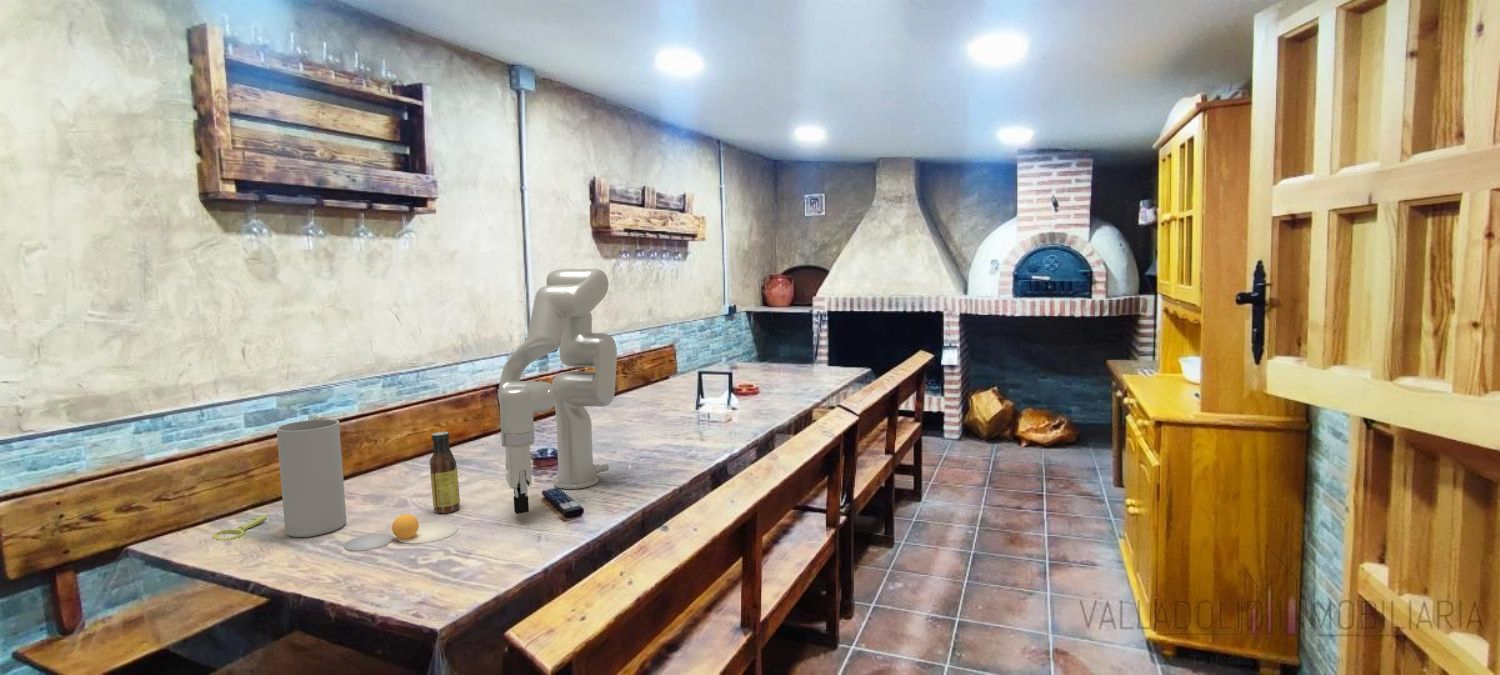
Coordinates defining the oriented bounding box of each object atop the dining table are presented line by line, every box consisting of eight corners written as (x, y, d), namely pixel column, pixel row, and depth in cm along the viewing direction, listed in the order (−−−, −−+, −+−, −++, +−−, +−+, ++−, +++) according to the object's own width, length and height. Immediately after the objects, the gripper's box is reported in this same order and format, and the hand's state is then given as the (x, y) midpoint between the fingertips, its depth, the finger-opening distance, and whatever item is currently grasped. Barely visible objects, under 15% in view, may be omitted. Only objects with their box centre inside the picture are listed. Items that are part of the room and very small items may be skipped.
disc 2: (446, 519, 177) (446, 518, 177) (466, 532, 168) (466, 532, 168) (389, 532, 168) (388, 532, 168) (407, 548, 159) (407, 547, 159)
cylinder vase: (310, 541, 164) (302, 432, 161) (272, 534, 169) (263, 429, 166) (358, 522, 176) (351, 421, 173) (321, 517, 180) (314, 417, 178)
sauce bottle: (465, 508, 185) (461, 431, 183) (446, 515, 179) (441, 437, 177) (446, 504, 188) (442, 429, 186) (427, 512, 182) (422, 434, 180)
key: (269, 523, 178) (268, 514, 178) (238, 542, 166) (237, 533, 165) (238, 524, 177) (237, 516, 177) (205, 544, 165) (204, 535, 165)
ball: (388, 522, 166) (407, 536, 168) (384, 534, 161) (404, 548, 163) (406, 505, 166) (425, 519, 168) (403, 516, 161) (423, 531, 163)
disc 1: (386, 530, 170) (386, 529, 170) (400, 542, 163) (400, 541, 163) (338, 542, 163) (338, 541, 163) (350, 554, 156) (350, 553, 156)
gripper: (497, 433, 180) (501, 505, 182) (505, 446, 167) (509, 524, 169) (529, 430, 183) (532, 500, 185) (539, 442, 170) (542, 519, 172)
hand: (521, 511), depth 177 cm, fingers closed
